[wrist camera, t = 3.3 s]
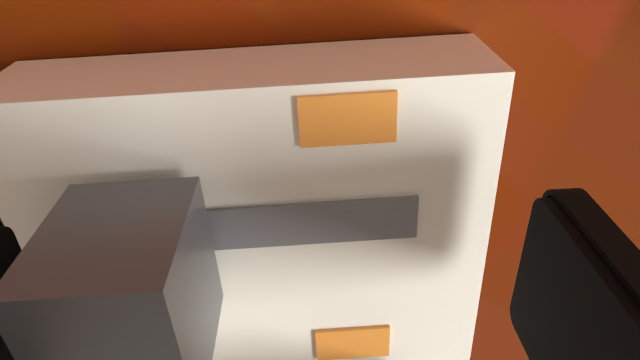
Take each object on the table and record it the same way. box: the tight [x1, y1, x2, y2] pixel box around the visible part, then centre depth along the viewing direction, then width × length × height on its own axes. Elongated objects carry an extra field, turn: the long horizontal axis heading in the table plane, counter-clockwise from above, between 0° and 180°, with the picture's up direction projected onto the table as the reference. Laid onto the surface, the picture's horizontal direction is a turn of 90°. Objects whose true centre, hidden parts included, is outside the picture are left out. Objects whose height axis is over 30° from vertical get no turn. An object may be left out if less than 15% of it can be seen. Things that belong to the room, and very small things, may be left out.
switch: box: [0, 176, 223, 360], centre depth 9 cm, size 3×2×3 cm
